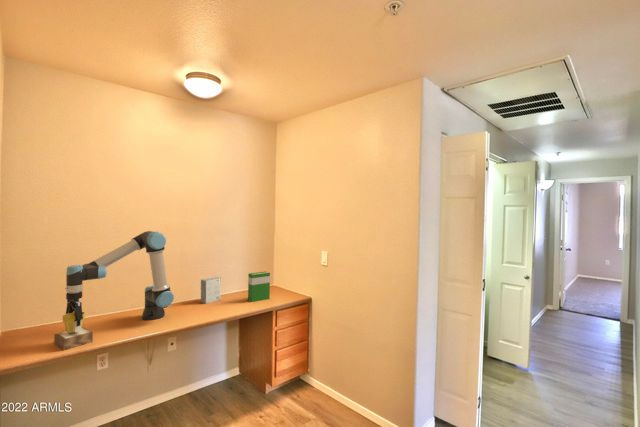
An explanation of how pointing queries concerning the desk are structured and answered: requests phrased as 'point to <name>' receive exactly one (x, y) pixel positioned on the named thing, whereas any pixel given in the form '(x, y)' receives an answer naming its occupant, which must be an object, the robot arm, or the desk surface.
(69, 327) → the plant pot
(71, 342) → the pedestal block
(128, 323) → the desk surface
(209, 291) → the hard drive box
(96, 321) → the desk surface
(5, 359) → the desk surface
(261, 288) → the hardback book
